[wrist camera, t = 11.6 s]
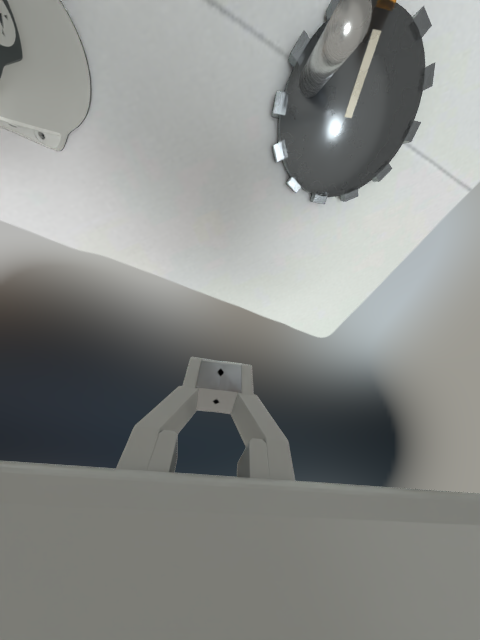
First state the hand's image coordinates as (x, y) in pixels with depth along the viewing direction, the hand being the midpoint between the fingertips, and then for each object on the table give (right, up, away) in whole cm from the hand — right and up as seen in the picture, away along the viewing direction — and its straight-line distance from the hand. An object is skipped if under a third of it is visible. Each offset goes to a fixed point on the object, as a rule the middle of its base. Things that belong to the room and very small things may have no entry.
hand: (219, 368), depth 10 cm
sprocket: (+16, +31, +18) cm, 40 cm away
